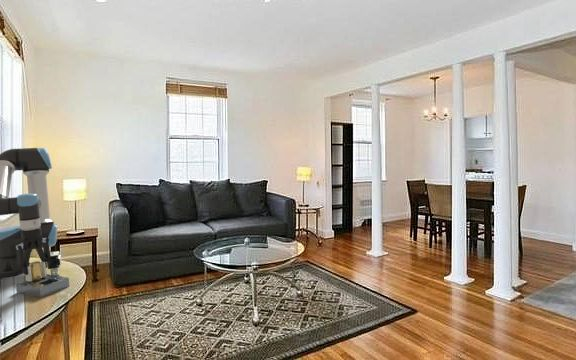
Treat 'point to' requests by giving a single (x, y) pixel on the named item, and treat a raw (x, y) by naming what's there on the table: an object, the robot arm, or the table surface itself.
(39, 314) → the table surface
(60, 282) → the jig
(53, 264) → the pneumatic valve
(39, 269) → the tan rectangular block
